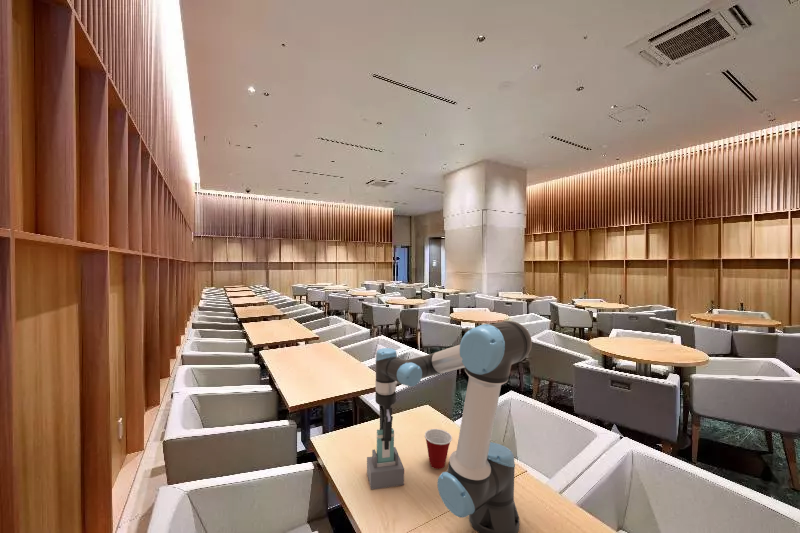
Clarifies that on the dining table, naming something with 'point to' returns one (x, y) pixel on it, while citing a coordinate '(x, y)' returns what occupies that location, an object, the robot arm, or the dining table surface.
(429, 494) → the dining table surface
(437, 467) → the plastic cup
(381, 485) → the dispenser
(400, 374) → the robot arm
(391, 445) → the teal flat box
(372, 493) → the dining table surface
